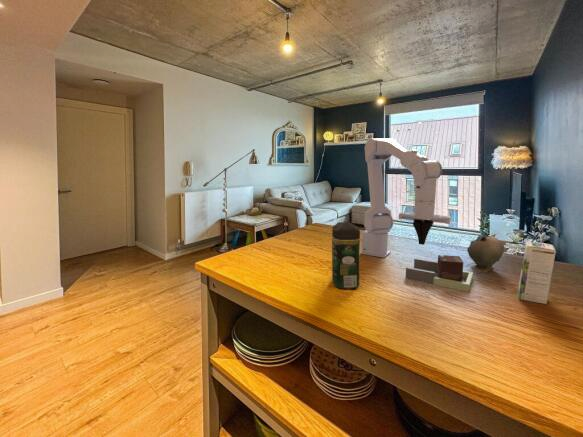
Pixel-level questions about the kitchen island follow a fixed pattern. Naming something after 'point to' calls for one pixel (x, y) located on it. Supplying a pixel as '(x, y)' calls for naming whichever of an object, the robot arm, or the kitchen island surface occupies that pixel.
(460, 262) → the box
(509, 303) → the kitchen island surface
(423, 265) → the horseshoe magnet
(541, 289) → the syrup box
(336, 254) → the coffee jar
